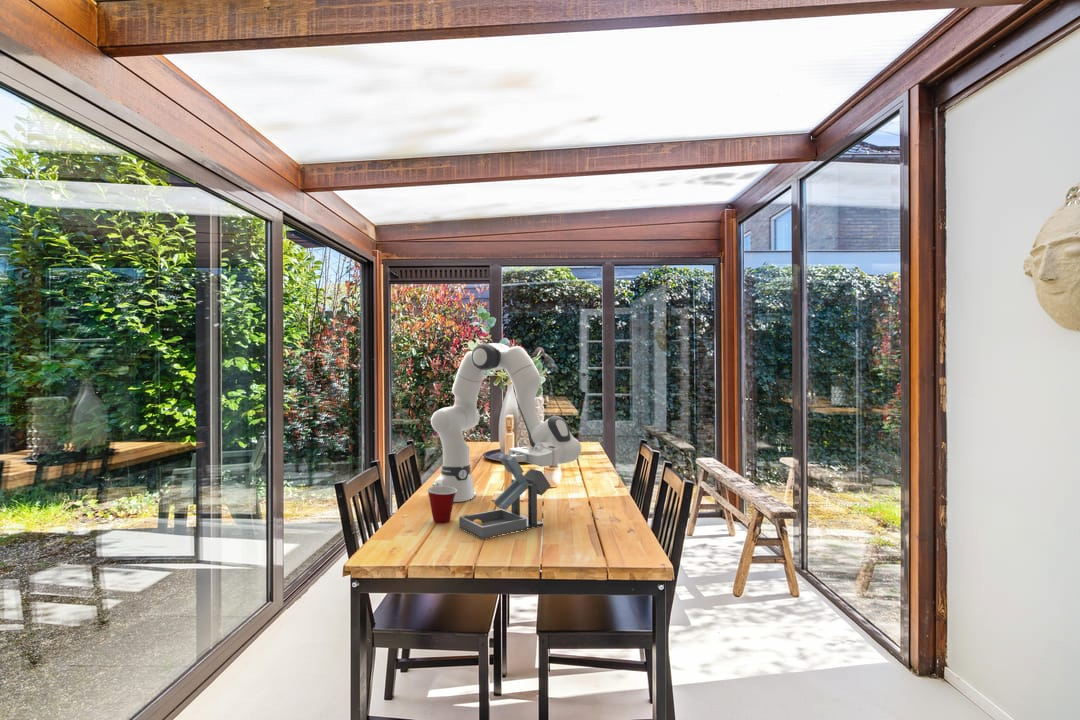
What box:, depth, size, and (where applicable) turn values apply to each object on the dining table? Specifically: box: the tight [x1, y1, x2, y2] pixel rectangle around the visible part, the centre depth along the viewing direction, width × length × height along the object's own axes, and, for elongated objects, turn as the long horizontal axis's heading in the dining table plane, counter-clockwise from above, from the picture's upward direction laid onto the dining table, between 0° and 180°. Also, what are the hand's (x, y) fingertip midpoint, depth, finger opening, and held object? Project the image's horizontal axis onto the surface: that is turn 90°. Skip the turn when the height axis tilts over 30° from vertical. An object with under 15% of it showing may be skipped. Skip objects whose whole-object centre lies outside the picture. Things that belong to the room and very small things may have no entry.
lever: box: [492, 453, 552, 511], centre depth 209 cm, size 8×19×20 cm
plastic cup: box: [426, 486, 457, 524], centre depth 214 cm, size 11×11×12 cm
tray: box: [458, 508, 528, 540], centre depth 204 cm, size 16×18×4 cm
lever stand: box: [510, 478, 544, 529], centre depth 211 cm, size 14×7×15 cm, turn 35°
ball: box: [473, 519, 483, 526], centre depth 200 cm, size 4×4×4 cm
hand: (511, 458), depth 208 cm, fingers closed, pressing on lever
